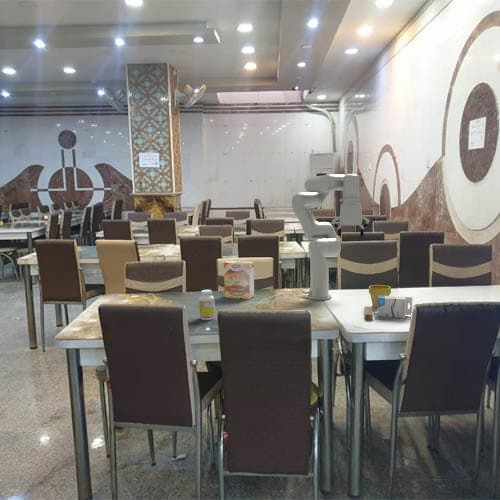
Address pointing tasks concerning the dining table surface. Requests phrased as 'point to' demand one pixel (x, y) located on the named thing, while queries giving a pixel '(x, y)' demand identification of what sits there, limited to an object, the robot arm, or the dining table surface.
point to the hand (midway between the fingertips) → (350, 237)
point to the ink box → (394, 306)
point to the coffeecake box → (239, 279)
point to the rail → (368, 313)
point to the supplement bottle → (207, 305)
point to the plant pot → (378, 293)
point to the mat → (385, 317)
